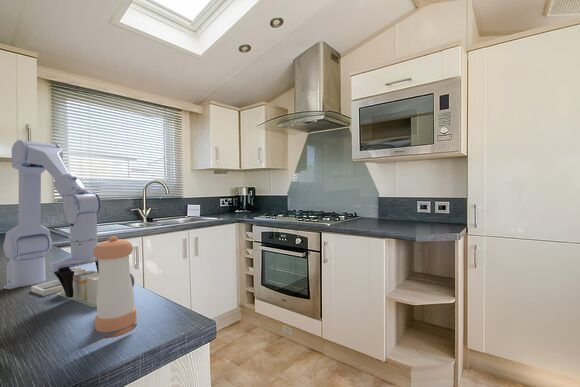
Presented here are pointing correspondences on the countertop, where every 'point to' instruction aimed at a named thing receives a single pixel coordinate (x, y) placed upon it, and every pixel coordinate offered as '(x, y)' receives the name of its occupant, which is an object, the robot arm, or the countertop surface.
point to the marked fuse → (81, 283)
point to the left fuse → (76, 270)
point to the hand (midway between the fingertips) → (86, 291)
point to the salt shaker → (114, 288)
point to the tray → (40, 288)
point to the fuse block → (78, 299)
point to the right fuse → (92, 288)
